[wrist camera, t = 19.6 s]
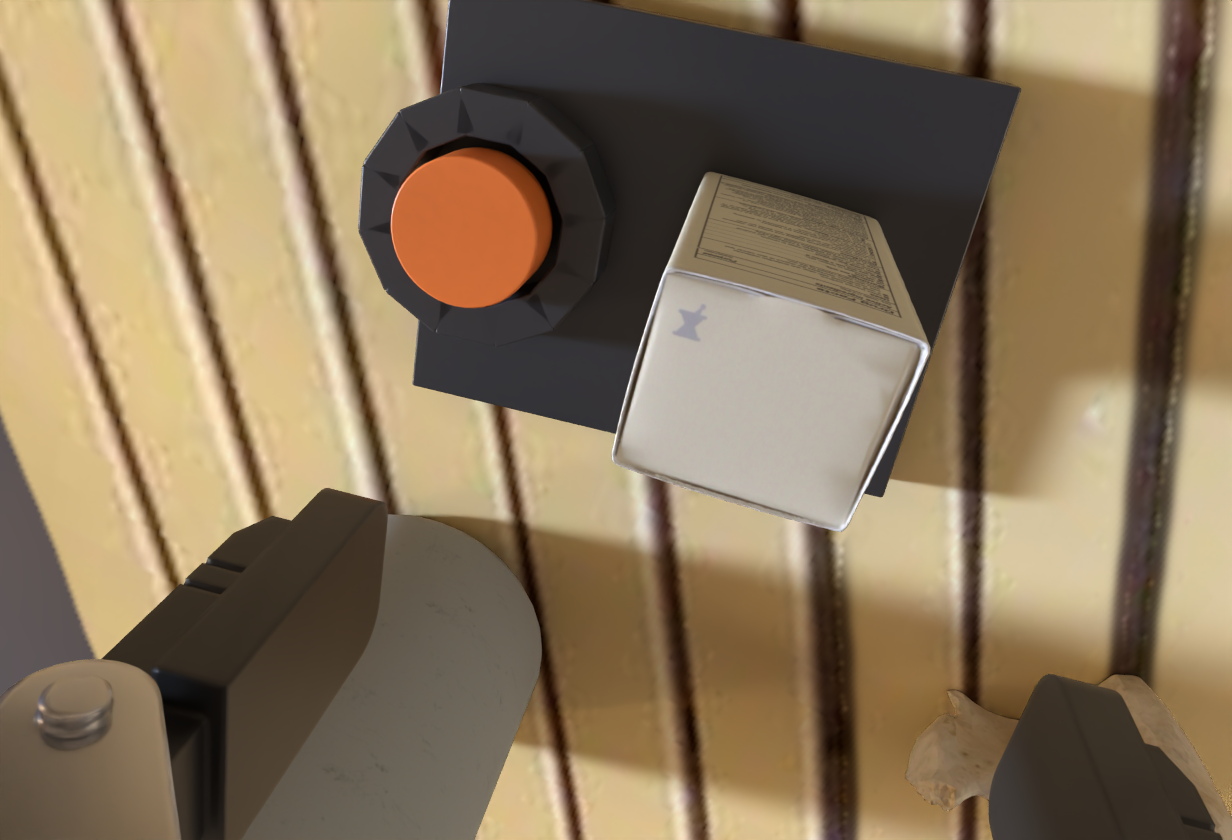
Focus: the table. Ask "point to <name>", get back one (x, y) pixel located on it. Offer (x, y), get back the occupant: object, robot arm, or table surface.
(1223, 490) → the table surface
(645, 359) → the white medicine box
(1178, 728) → the beige figurine
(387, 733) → the water bottle
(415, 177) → the button
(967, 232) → the black button panel
